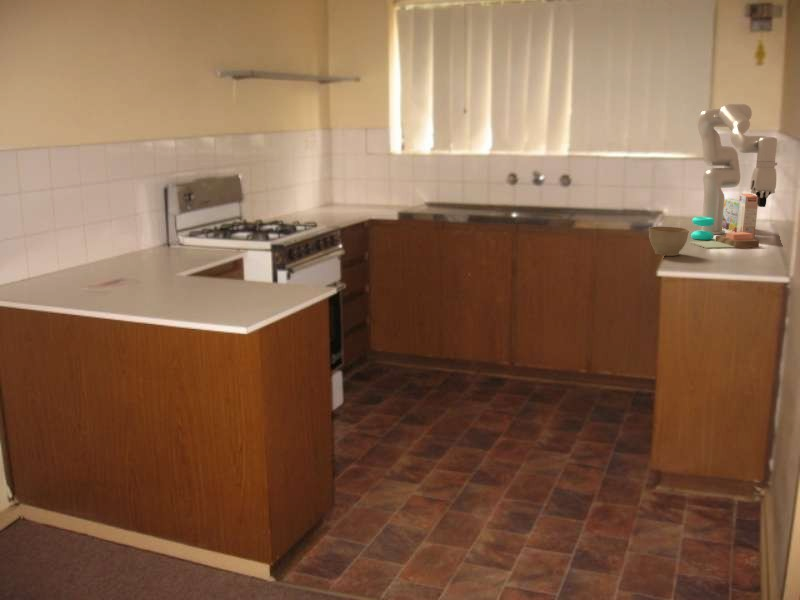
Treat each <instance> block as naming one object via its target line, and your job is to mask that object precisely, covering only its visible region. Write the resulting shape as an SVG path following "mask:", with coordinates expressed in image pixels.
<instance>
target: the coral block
mask: <svg viewBox="0 0 800 600" xmlns="http://www.w3.org/2000/svg"><path fill="white" fill-rule="evenodd" d="M725 236H726V237H727V238H730V239H752V234H750V233H747V232H733V231H732V232H726V235H725Z"/></svg>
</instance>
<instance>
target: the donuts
mask: <svg viewBox="0 0 800 600" xmlns="http://www.w3.org/2000/svg"><path fill="white" fill-rule="evenodd" d="M691 220H692V221H691V222H692V224H693V225H695V226H699V227H702V226H711V225H713V224H714V222H715V220H714V219H713V218H710V217H702V216H696V217H693V218H692V219H691ZM690 237H691V238H692V239H693V240H696V239H698V240H697V241H712V240H713V238H714V234H712V233H711V232H709V231H698V230H695V231H693V232H692V233H691V234H690Z"/></svg>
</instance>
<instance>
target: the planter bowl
mask: <svg viewBox="0 0 800 600" xmlns="http://www.w3.org/2000/svg"><path fill="white" fill-rule="evenodd" d="M689 233H690V230H689V229H688V228H683V227H675V226H650V227H648V239H649V242H650V244H651V247H652V248H653V250H654V254H655V255H658V256H664V257H665V256H666V257H674V256H678V255H680V252H681V251H682V249H684V246H685V245H686V243H687V241H688V238H689V237H688V236H689Z"/></svg>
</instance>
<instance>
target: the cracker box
mask: <svg viewBox="0 0 800 600" xmlns="http://www.w3.org/2000/svg"><path fill="white" fill-rule="evenodd" d="M758 208H759V206H758V197H757V195H756V194H753V193H740V194H739V212H738V222H737V232H747V233H750V234H752V239H754V240H755V234H756V228H757V227H756V226H757V225H756V224H757V216H758Z"/></svg>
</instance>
